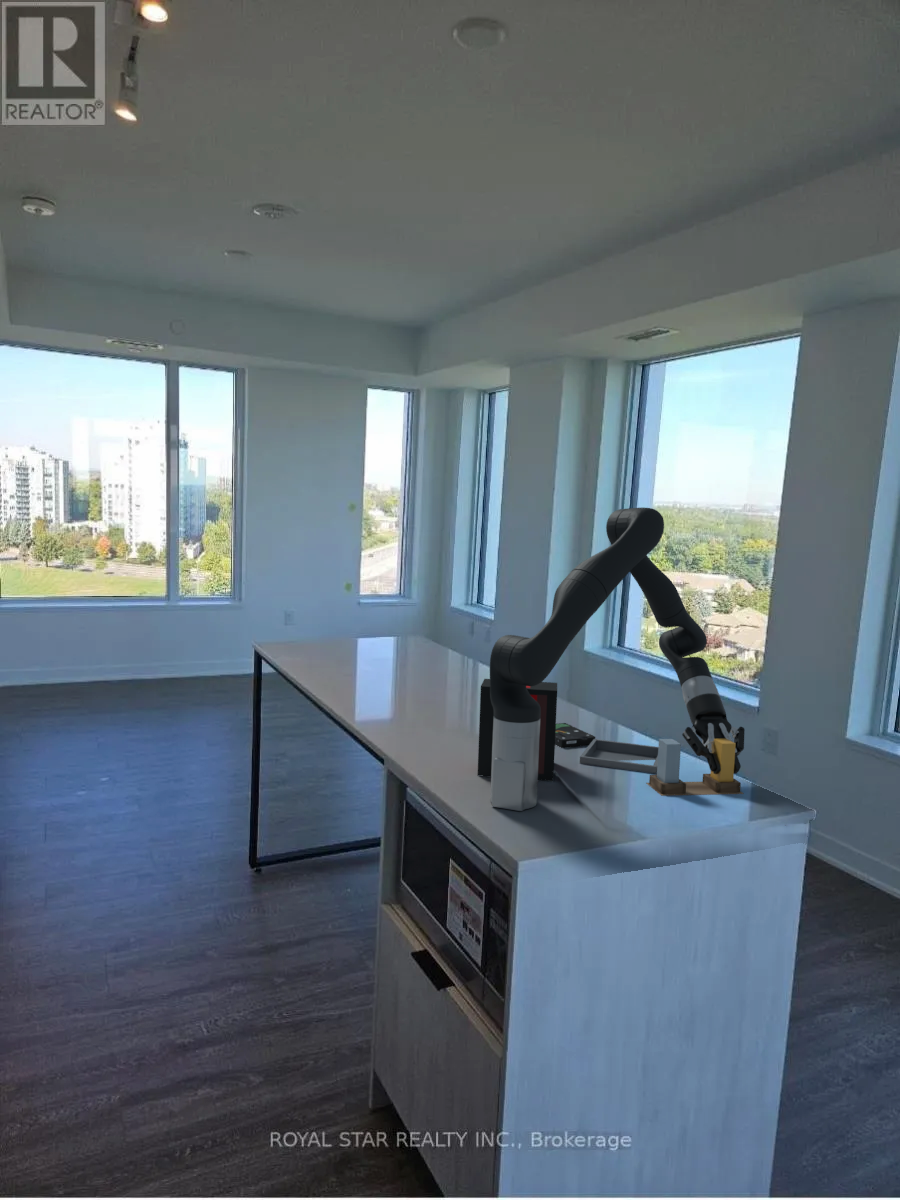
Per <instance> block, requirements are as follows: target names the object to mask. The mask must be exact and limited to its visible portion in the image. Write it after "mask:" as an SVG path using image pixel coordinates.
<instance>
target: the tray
mask: <svg viewBox="0 0 900 1200" xmlns="http://www.w3.org/2000/svg"><path fill="white" fill-rule="evenodd" d="M658 747H659V746H656V745H655V746H653V745H648V744H647V745H646V744H637V743H631V742H630V743H629V742H624V741H623V742H621V741H615V740H614V741H612V740H605V739H598V738H597V739H596V738H595V739H593V741H592V742H591V743H590V745H589V746H587V747H586V748H585V749H584V751H583V752H582V753H581V755H580V756H579V764H581V765H582V764H583V765H590V766H597V767H604V768H611V769H617V770H618V769H619V770H625V771H633V772H641V773H647V774H653V775H657V764H658ZM630 761H654V762H653V764H644V763H637V762H630Z"/></svg>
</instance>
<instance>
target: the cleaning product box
mask: <svg viewBox="0 0 900 1200" xmlns="http://www.w3.org/2000/svg"><path fill="white" fill-rule="evenodd" d="M526 688H527V690H528V692H529V694H530V695H531V696H532V697H533V698H534V699H535V700H536V701H537V702H538V703H539V705H540V708H541V715H540V736H539V760H538V781H542V782H543V781H544V782H554V774H555V773H554V772H555V771H554V769H555V755H556V754H555V749H556V745H555V731H556V724H557V710H558V709H557V706H558V705H557V702H558V682H550V681H549V682H548V681H542V682H541V683H539V684H538V685H535V686H526ZM479 694H480V695H479V696H480V697H479V699H480V700H479V727H478V749H477V750H478V751H477V754H478V755H477V757H478V758H477V776H478V775H483V776H482V777H487V776H491V770H492V744H493V720H494V709H493V706H492V703H491V699H490V678H484V679H483V681H482V683H481V685H480V693H479Z"/></svg>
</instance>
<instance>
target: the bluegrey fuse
mask: <svg viewBox="0 0 900 1200" xmlns="http://www.w3.org/2000/svg"><path fill="white" fill-rule="evenodd" d="M681 746H682V744H681V743H680V742H678V741H677V740H675V739H674V738H658V746H657V747H658V764H657V773H656V775H657V778H658V779H659V780H661V781H662V782H663V783H679V779H680V766H681V753H682V749H681V748H682V747H681Z"/></svg>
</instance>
